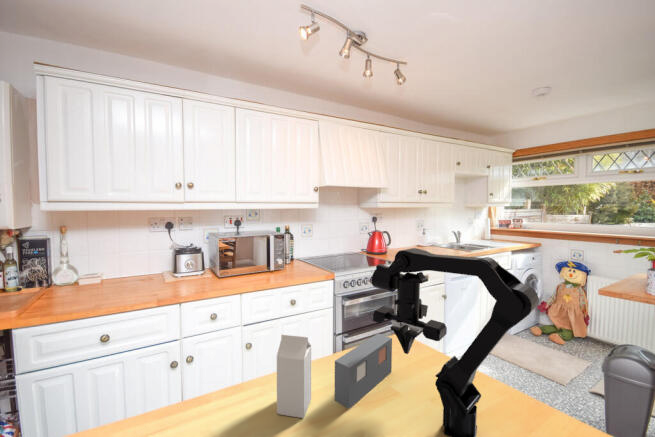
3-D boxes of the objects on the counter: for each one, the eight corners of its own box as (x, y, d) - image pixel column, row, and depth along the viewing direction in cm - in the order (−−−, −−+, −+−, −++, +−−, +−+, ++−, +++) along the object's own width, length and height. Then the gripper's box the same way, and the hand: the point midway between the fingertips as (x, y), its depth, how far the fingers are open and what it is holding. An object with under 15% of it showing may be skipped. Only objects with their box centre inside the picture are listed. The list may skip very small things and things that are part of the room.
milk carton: (303, 419, 72) (304, 343, 71) (276, 414, 73) (276, 340, 72) (311, 399, 79) (311, 331, 78) (286, 396, 80) (286, 328, 79)
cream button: (365, 375, 80) (365, 361, 80) (357, 382, 77) (357, 367, 77) (360, 372, 82) (360, 359, 81) (351, 379, 79) (351, 365, 78)
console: (391, 372, 92) (392, 338, 91) (349, 409, 75) (349, 367, 74) (377, 366, 95) (378, 333, 94) (334, 400, 78) (334, 360, 78)
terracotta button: (385, 359, 89) (385, 346, 89) (378, 364, 86) (378, 351, 86) (380, 357, 90) (380, 344, 90) (373, 362, 87) (373, 349, 87)
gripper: (454, 296, 77) (452, 353, 78) (391, 282, 89) (389, 332, 90) (439, 308, 69) (437, 371, 70) (371, 291, 81) (370, 345, 82)
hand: (406, 353), depth 78 cm, fingers closed
